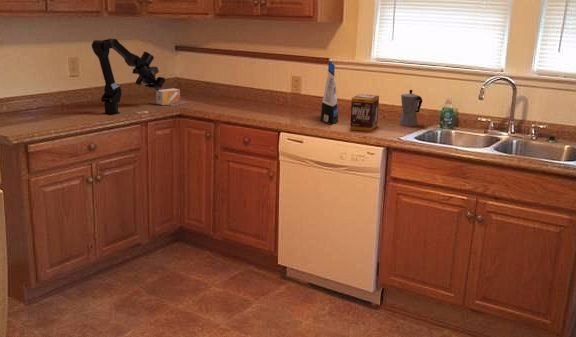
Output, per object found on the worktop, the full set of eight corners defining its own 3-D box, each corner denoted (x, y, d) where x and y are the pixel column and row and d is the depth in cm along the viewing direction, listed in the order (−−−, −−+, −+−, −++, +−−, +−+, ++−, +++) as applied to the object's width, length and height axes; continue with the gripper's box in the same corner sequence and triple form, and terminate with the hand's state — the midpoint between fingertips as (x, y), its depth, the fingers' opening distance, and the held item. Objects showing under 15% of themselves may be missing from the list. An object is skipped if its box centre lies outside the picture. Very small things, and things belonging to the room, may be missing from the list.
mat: (171, 106, 349) (171, 105, 349) (148, 103, 358) (148, 102, 357) (189, 102, 362) (189, 102, 362) (166, 99, 371) (166, 99, 371)
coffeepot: (393, 123, 311) (395, 88, 306) (407, 121, 315) (409, 87, 310) (412, 128, 298) (415, 92, 293) (426, 127, 302) (429, 91, 297)
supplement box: (349, 129, 293) (351, 97, 289) (357, 124, 307) (359, 93, 303) (370, 131, 289) (372, 99, 285) (377, 125, 303) (379, 95, 299)
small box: (162, 91, 347) (180, 89, 356) (155, 90, 351) (173, 88, 361) (162, 105, 349) (180, 102, 359) (156, 103, 354) (174, 101, 363)
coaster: (141, 114, 321) (141, 113, 321) (131, 113, 325) (131, 112, 324) (150, 112, 327) (150, 111, 327) (141, 111, 330) (141, 110, 330)
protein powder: (323, 124, 303) (325, 64, 295) (317, 116, 327) (319, 60, 319) (341, 124, 304) (344, 65, 296) (335, 116, 327) (337, 60, 319)
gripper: (162, 63, 336) (176, 80, 349) (138, 61, 346) (152, 78, 358) (153, 78, 332) (167, 96, 344) (129, 75, 341) (143, 93, 353)
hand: (158, 90), depth 350 cm, fingers closed
